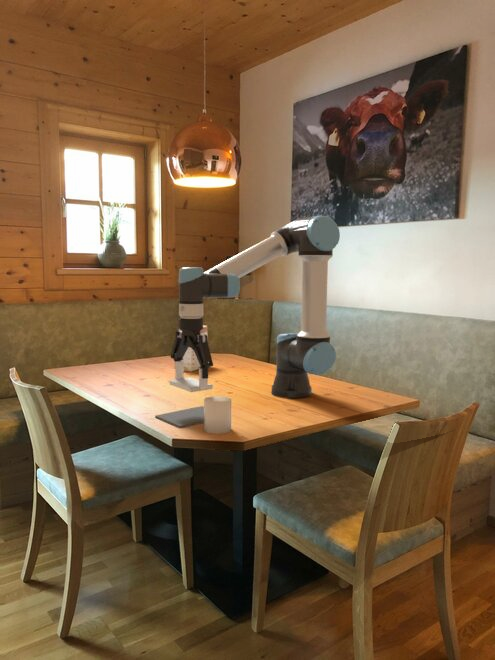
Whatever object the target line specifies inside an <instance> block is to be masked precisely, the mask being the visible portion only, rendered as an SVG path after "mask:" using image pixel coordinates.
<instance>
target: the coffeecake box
mask: <svg viewBox="0 0 495 660" xmlns="http://www.w3.org/2000/svg"><path fill="white" fill-rule="evenodd" d="M178 331H182V330H180V329H179V328H178ZM208 331H209V330H208V325H204V324H203V329H202V330H201V331H200V334H201V335H207V342H208V343H209V341H208V339H209V338H208V336H209V335H208V333H209V332H208ZM183 359H184V360H183ZM183 359H182V360H181V361H184V372H194V371H197V370H199V368H200V364H199V361H198V359H197V357H196V354H195V352H194V350H192V348H190V347H188V349H187V351H186V353H185V354H184V356H183ZM203 364H204V363H203Z"/></svg>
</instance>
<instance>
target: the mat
mask: <svg viewBox="0 0 495 660" xmlns="http://www.w3.org/2000/svg"><path fill="white" fill-rule="evenodd" d="M154 417H155V418H156V419H158V420H161V421H162V420H163V422H165V423H167V424H169V423H170V425H171V426H174V427H175V428H176V427H177V428H178V429H181V428H185V427H190V426H194V425H199V424H204V405H203V406H202V405H200V406H196V407H190V408H186V409H181V410H177V411H176V410H175V411H172V412H171V411H169V412H166V413H162V414H156V415H154Z"/></svg>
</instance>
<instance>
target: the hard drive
mask: <svg viewBox="0 0 495 660" xmlns="http://www.w3.org/2000/svg"><path fill="white" fill-rule="evenodd" d="M169 385H170V386H172V387H176V388H178V389H181V390H185V391H187V392H190V393H196V392H202V391H209V390H212V389H213V388H214V385H213V384H212V383H209V382H208V388H207V389H201V390H200V389H199V379H197V378H194V377H189V376H188V377H184V378H182V379H170V380H169Z"/></svg>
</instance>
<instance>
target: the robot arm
mask: <svg viewBox="0 0 495 660" xmlns="http://www.w3.org/2000/svg"><path fill="white" fill-rule="evenodd" d="M340 233H341V232H340V229H339V226H338V224H337V223H336V222H335V220H334V219H332V218H331V217H329V216H327V215H313V216H306V217H299V218H296V219H294V220H292V221H290V222H288V223H287V224H285V225H283V226H281V227H280V228H278V229H277V230H275V231H272V232H271V233H270V236H269V237H267V238H266V239H263V240H262V241H260V242H259V243H256V244H254V245H253V246H251V247H249V248H247V249H244V250H243V251H242V252H239V253H238V254H236V255H233V256H232V257H230V258H228V259H227V260H225V261H223V262H221V263H219V264H218V265H215V266H213V267H211V268H209V269H208V270H206V271H204V268H203V267H195V266H194V267H189V266H187V267H185V266H184V267H181V268H179V271H178V281H177V282H178V316H179V318H178V330H176V331H175V338H174V343H173V345H172V348H171V353H170V359H172V360H173V361H174V378H175V379H182V378H185V377H184V372H185V371H184V361H181V360H182V359H183V356H184V354H185V353H186V351H187V349H188V347H190V348H192V350H194V352H195V354H196V357H197V359H198V361H199V364H200V368H199V369H198V380H199V389H200V390H201V389H207V388H208V383H209V382H208V380H209V368H210V367H214V363H213V358H212V354H211V351H210V347H209V341H208V342H207V335H201V334H200V331H201V330H202V329H203V325H204V319H203V316H204V299H207V298H209V299H211V298H217V299H218V298H220V299H221V298H227V299H229V298H235V297H238V295H239V294H240V290H241V281H240V278H242V277H244V276H247V275H248V274H250V273H251V272H253V271H255V270H257V269H259V268H260V267H263V266H264V265H266V264H268V263H270V262H272V261H273V260H275V259H277V258H279V257H287V256H288V255H290V254H292V253H297V252H298V257H299V259H301V260H302V277H301V280H302V282H301V283H302V284H301V286H302V287H301V321H300V322H301V326H300V331H299V332H291V333H290V332H289V333H280V334H278V335H277V336H276V371H275V372H276V374H275V376H274V379H273V384H272V385H271V395H273V396H276V397H279V398H284V399H285V398H286V399H301V398H307V397H310V396H312V395H313V394H312V393H313V391H312V390H313V389H312V388H313V387H312V385H310V382H311V381H310V379H309V376H308V375H309V374H310V375H316V376H317V375H318V376H320V375H324V374H326V373H327V372H329V371H330V370H331V368H333V366H334V365H335V362H336V360H337V352H336V349H335V348H334V346H333V345H332V344H331V334H329V333H328V331H327V330H326V329H327V307H328V306H327V305H328V303H327V302H328V273H329V272H328V270H329V261H330V259H332V257H333V251H334V249H335V248H336V247H337V246H338V244H339V242H340ZM179 329H180V330H182V331H179ZM183 360H184V359H183ZM203 363H204V364H203ZM175 379H174V380H175Z"/></svg>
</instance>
